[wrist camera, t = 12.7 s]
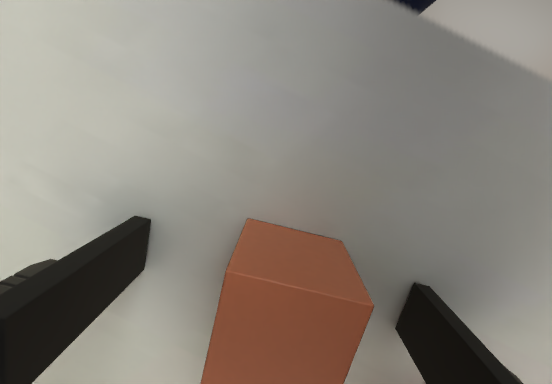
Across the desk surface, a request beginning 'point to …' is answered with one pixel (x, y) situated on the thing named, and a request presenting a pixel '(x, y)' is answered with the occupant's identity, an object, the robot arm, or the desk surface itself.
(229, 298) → the block
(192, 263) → the desk surface
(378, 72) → the desk surface
